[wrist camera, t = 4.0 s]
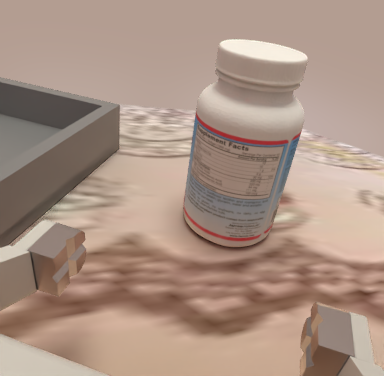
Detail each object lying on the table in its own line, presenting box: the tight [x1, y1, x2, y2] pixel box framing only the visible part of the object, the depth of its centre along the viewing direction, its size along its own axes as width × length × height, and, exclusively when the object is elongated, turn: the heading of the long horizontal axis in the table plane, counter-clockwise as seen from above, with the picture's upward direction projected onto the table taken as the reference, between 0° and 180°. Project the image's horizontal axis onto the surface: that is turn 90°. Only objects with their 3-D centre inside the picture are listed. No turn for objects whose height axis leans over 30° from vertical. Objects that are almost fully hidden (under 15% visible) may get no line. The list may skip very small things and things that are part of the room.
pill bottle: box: [183, 39, 308, 247], centre depth 21 cm, size 6×6×11 cm
